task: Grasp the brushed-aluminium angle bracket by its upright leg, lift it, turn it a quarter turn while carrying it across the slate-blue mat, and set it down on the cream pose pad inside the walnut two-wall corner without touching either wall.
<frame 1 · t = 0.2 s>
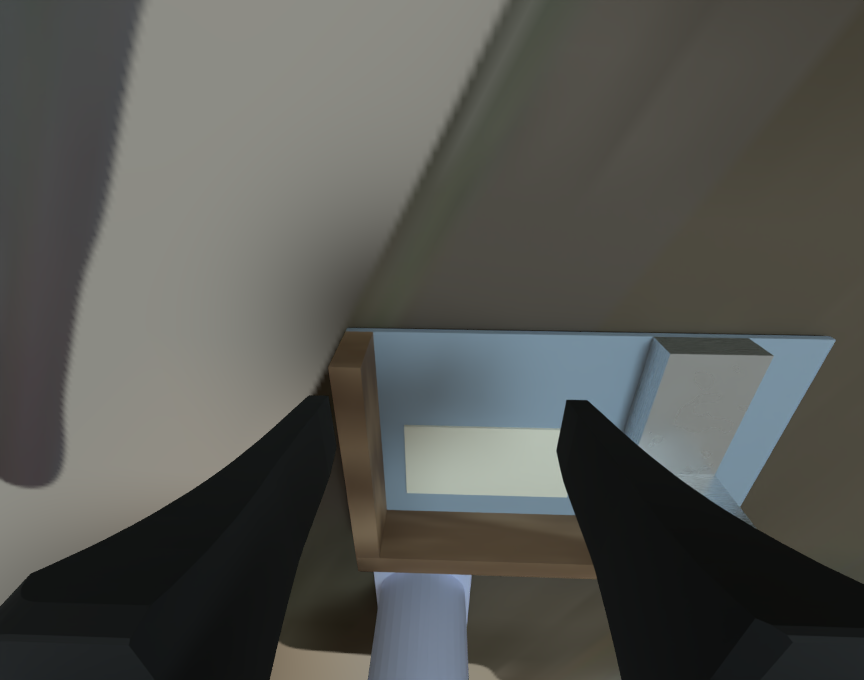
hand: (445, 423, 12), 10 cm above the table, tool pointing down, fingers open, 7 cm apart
walls: (560, 442, 25), resting in mat
mat: (560, 442, 25), on the table
bracket: (672, 411, 23), resting on mat
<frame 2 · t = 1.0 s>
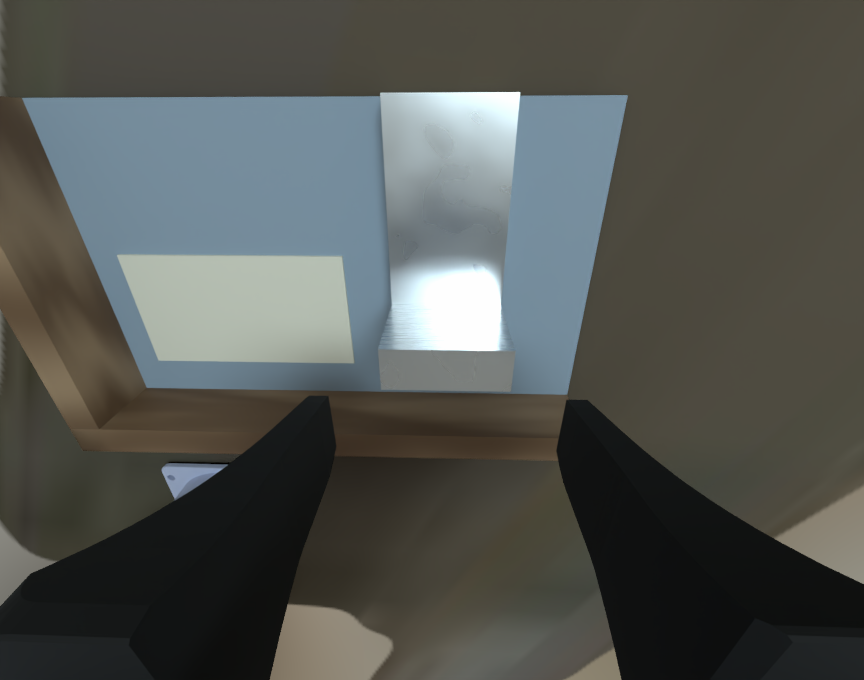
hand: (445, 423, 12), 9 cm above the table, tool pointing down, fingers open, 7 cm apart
walls: (328, 282, 20), resting in mat
mat: (328, 282, 20), on the table
bracket: (447, 224, 18), resting on mat
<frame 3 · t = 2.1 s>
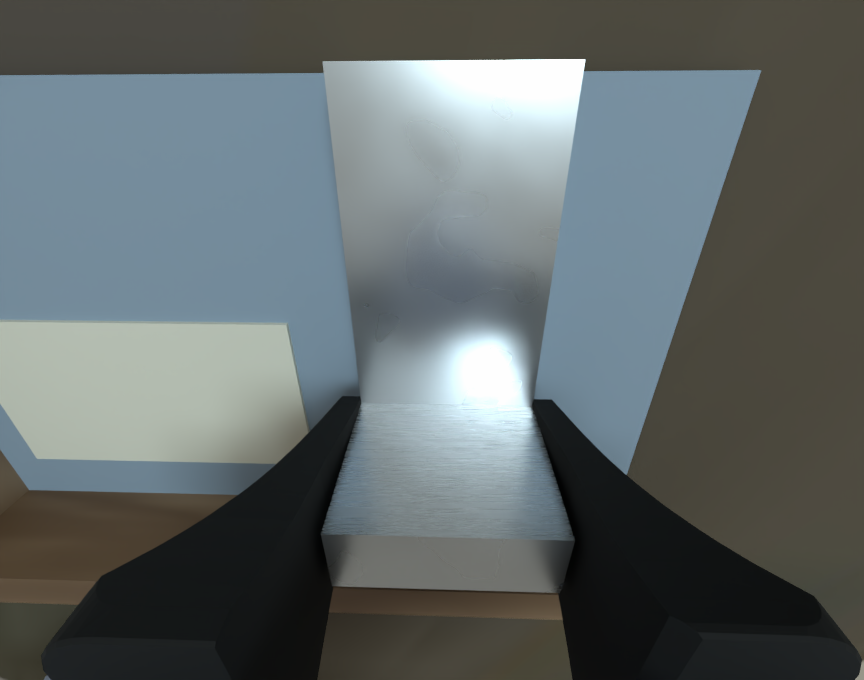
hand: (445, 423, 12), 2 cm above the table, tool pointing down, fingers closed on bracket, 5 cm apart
walls: (271, 356, 13), resting in mat
mat: (271, 356, 13), on the table
bracket: (447, 278, 11), resting on mat, touching gripper
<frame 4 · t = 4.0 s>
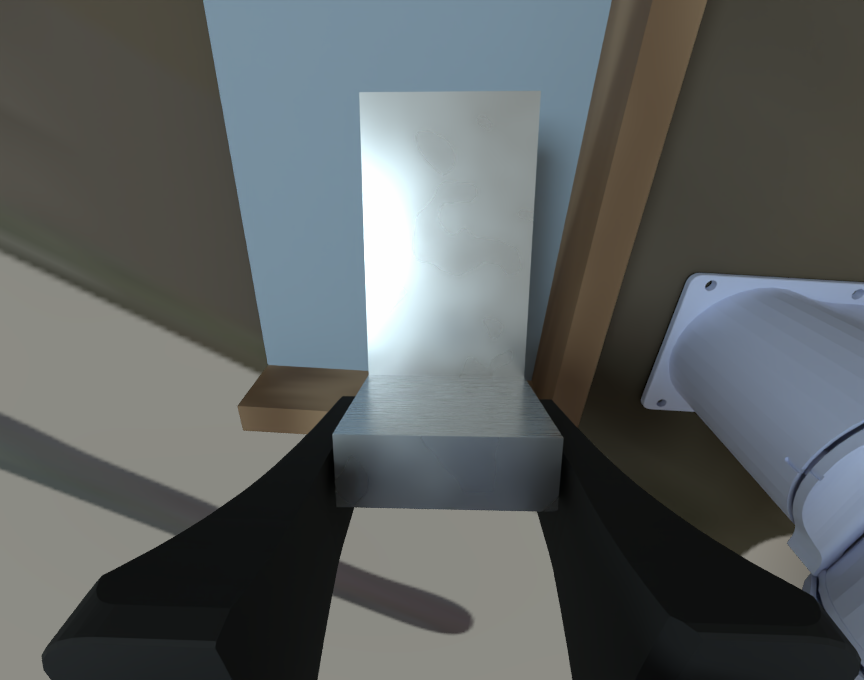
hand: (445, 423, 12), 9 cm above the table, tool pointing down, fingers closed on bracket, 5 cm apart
walls: (422, 137, 16), resting in mat
mat: (422, 137, 16), on the table
bracket: (446, 272, 14), point 5 cm above the table, tilted 16°, touching gripper
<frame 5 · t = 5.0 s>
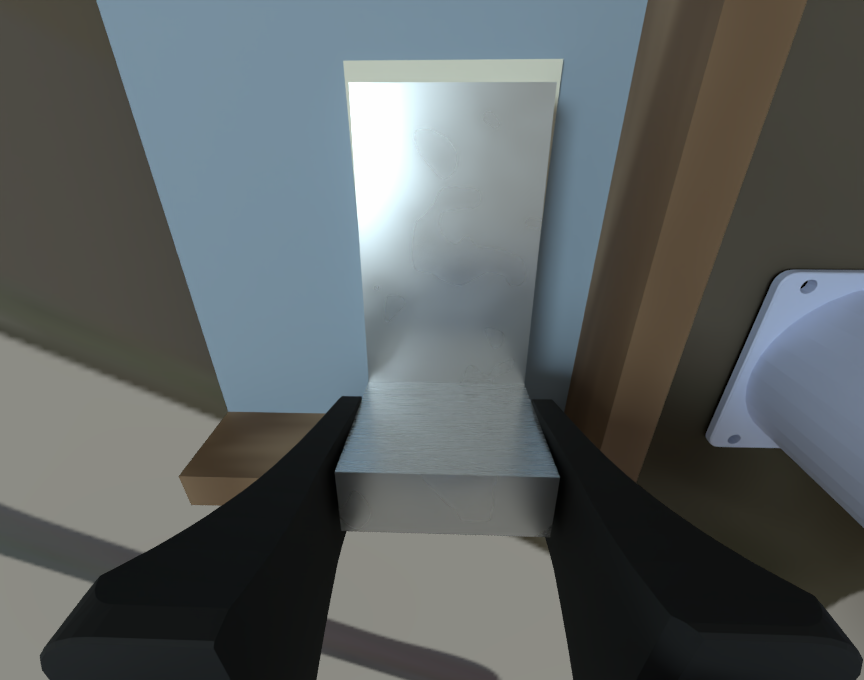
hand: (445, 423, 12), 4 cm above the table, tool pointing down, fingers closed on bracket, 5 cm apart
walls: (401, 103, 12), resting in mat
mat: (401, 103, 12), on the table
bracket: (447, 271, 13), point 1 cm above the table, tilted 6°, touching gripper
when the fingers open (4 cm above the table, at t = 5.6 s): bracket stays where it is, resting on mat.
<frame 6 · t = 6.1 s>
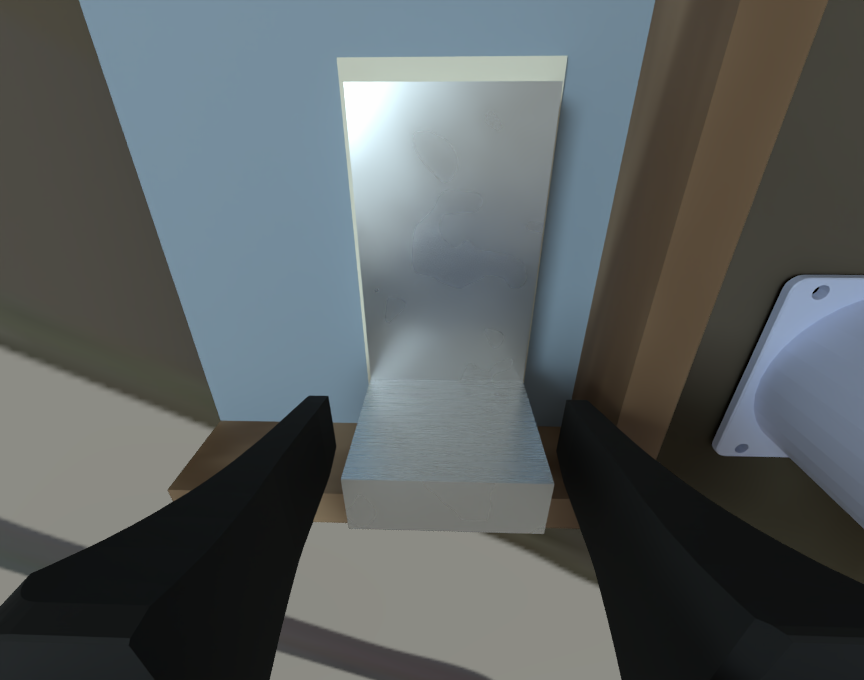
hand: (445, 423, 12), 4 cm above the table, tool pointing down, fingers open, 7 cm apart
walls: (397, 103, 11), resting in mat
mat: (397, 103, 11), on the table
bracket: (447, 268, 13), point 1 cm above the table, touching mat
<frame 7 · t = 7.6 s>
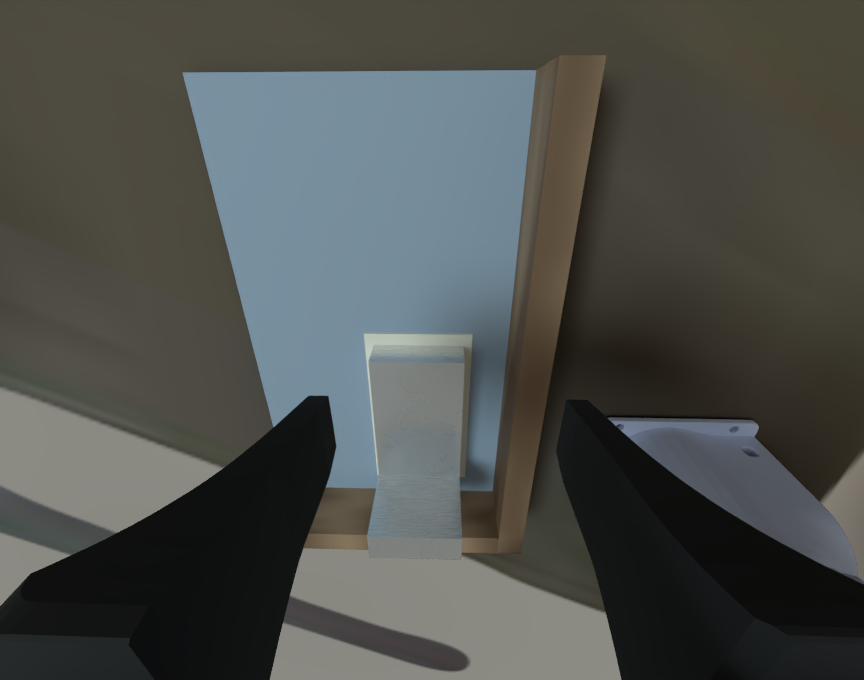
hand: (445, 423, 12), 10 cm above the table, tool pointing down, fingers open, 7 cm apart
walls: (392, 344, 22), resting in mat
mat: (392, 344, 22), on the table
bracket: (419, 415, 24), point 1 cm above the table, touching mat
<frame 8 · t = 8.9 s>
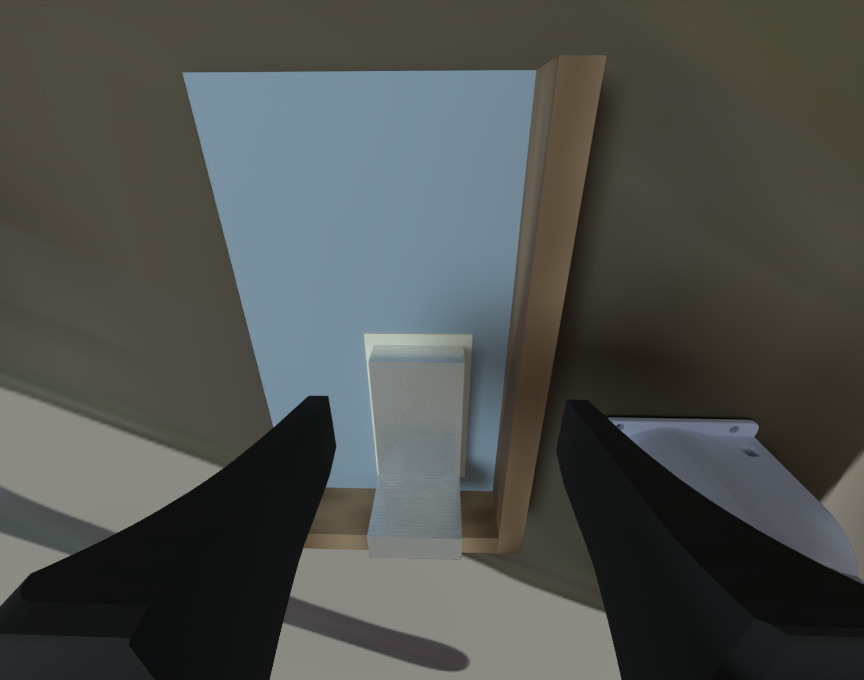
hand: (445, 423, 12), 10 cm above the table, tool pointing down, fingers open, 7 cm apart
walls: (392, 344, 22), resting in mat
mat: (392, 344, 22), on the table
bracket: (419, 415, 24), point 1 cm above the table, touching mat
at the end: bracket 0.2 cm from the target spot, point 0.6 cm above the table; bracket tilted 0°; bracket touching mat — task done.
